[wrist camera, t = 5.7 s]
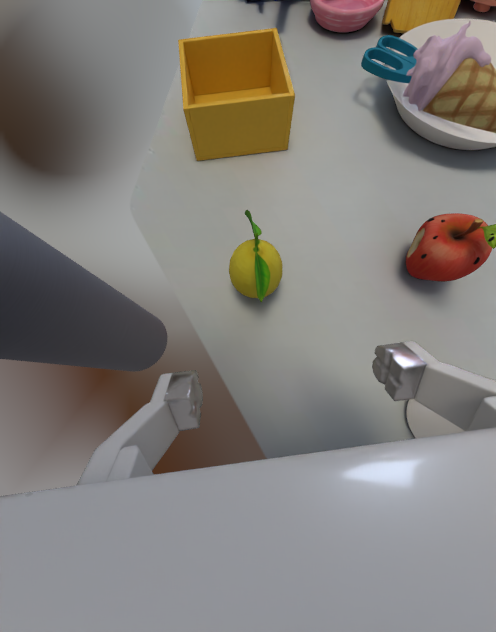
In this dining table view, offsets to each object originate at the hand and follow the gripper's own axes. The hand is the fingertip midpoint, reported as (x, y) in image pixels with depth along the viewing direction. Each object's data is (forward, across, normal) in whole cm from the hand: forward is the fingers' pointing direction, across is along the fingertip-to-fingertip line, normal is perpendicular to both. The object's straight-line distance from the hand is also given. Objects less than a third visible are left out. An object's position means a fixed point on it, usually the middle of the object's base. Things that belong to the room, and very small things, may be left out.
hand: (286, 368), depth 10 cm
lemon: (+18, 0, +3) cm, 18 cm away
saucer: (+53, -23, -32) cm, 66 cm away
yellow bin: (+37, -1, -16) cm, 40 cm away
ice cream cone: (+23, -33, -10) cm, 41 cm away
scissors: (+37, -21, -23) cm, 48 cm away
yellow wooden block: (+46, -34, -32) cm, 65 cm away
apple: (+18, -20, +4) cm, 27 cm away
